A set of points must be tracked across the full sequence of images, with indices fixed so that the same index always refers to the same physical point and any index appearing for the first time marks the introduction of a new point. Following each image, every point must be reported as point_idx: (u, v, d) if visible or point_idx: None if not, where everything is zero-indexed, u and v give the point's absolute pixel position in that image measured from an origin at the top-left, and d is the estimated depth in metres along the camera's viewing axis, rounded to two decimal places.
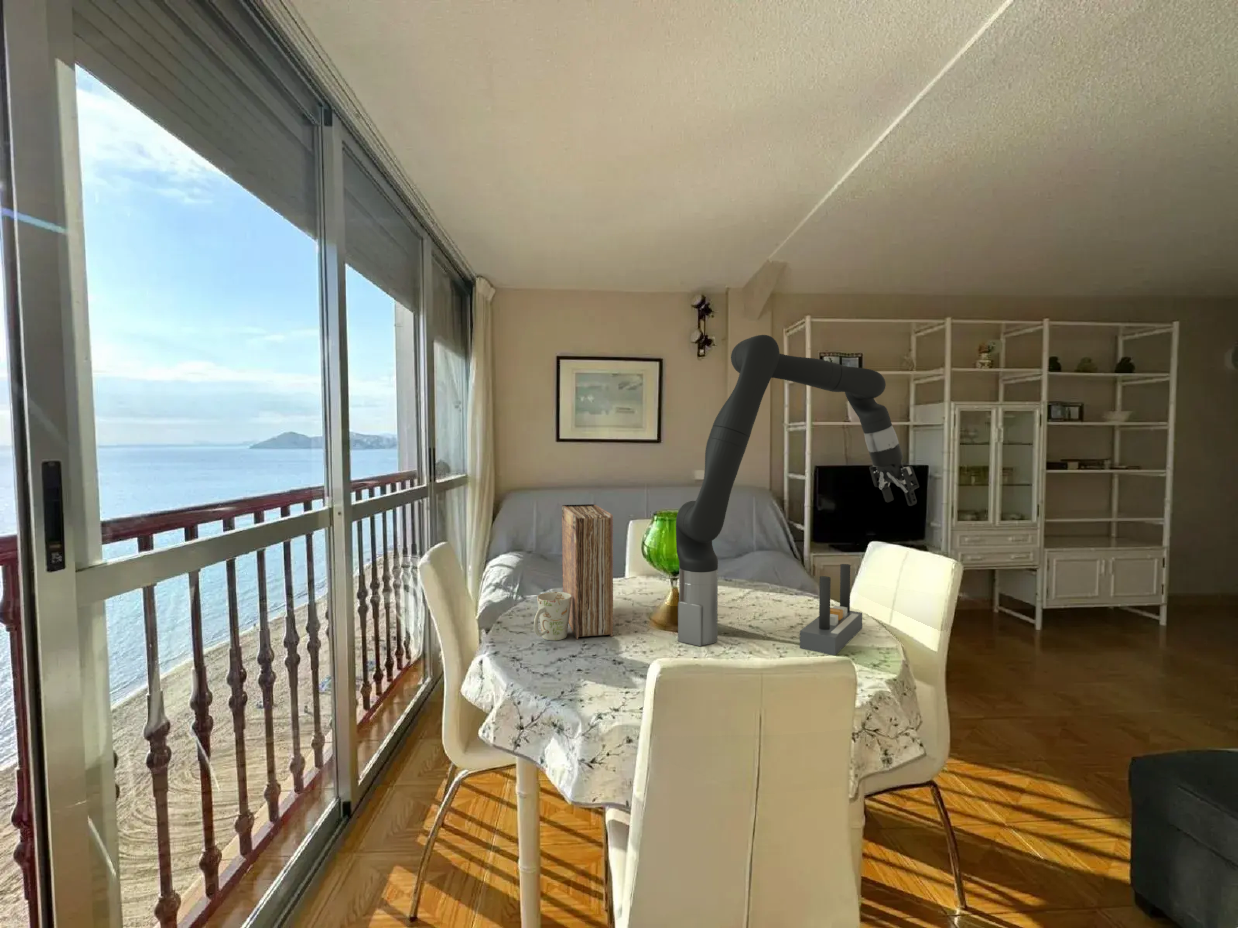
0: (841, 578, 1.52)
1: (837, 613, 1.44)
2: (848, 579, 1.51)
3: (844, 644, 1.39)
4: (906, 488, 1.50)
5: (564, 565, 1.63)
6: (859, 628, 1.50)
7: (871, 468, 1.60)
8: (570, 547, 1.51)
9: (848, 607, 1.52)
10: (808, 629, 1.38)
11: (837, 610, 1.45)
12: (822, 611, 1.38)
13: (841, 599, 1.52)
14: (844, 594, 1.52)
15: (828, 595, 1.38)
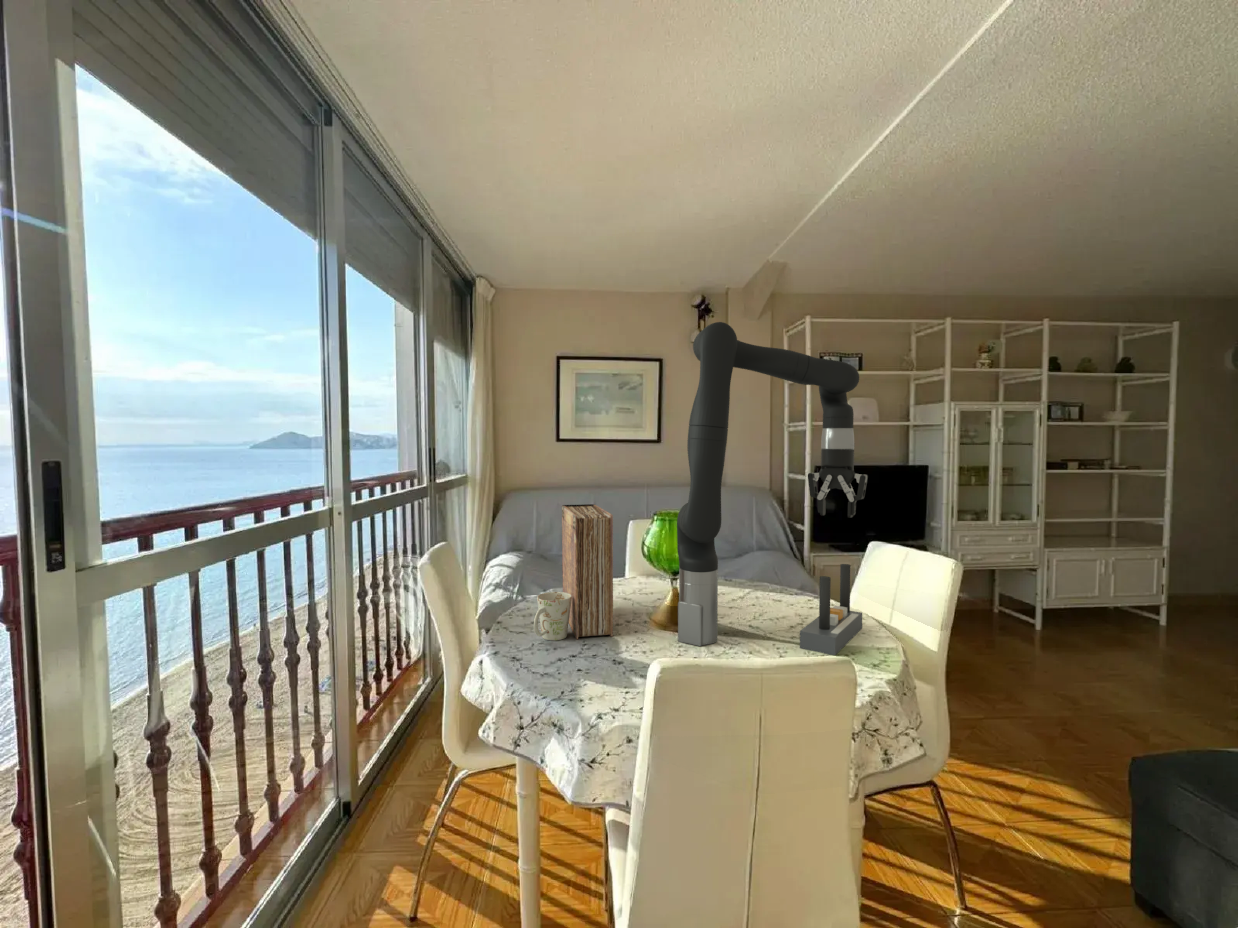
0: (841, 578, 1.52)
1: (837, 613, 1.44)
2: (848, 579, 1.51)
3: (844, 644, 1.39)
4: (853, 497, 1.41)
5: (564, 565, 1.63)
6: (859, 628, 1.50)
7: (811, 474, 1.47)
8: (570, 547, 1.51)
9: (848, 607, 1.52)
10: (808, 629, 1.38)
11: (837, 610, 1.45)
12: (822, 611, 1.38)
13: (841, 599, 1.52)
14: (844, 594, 1.52)
15: (828, 595, 1.38)
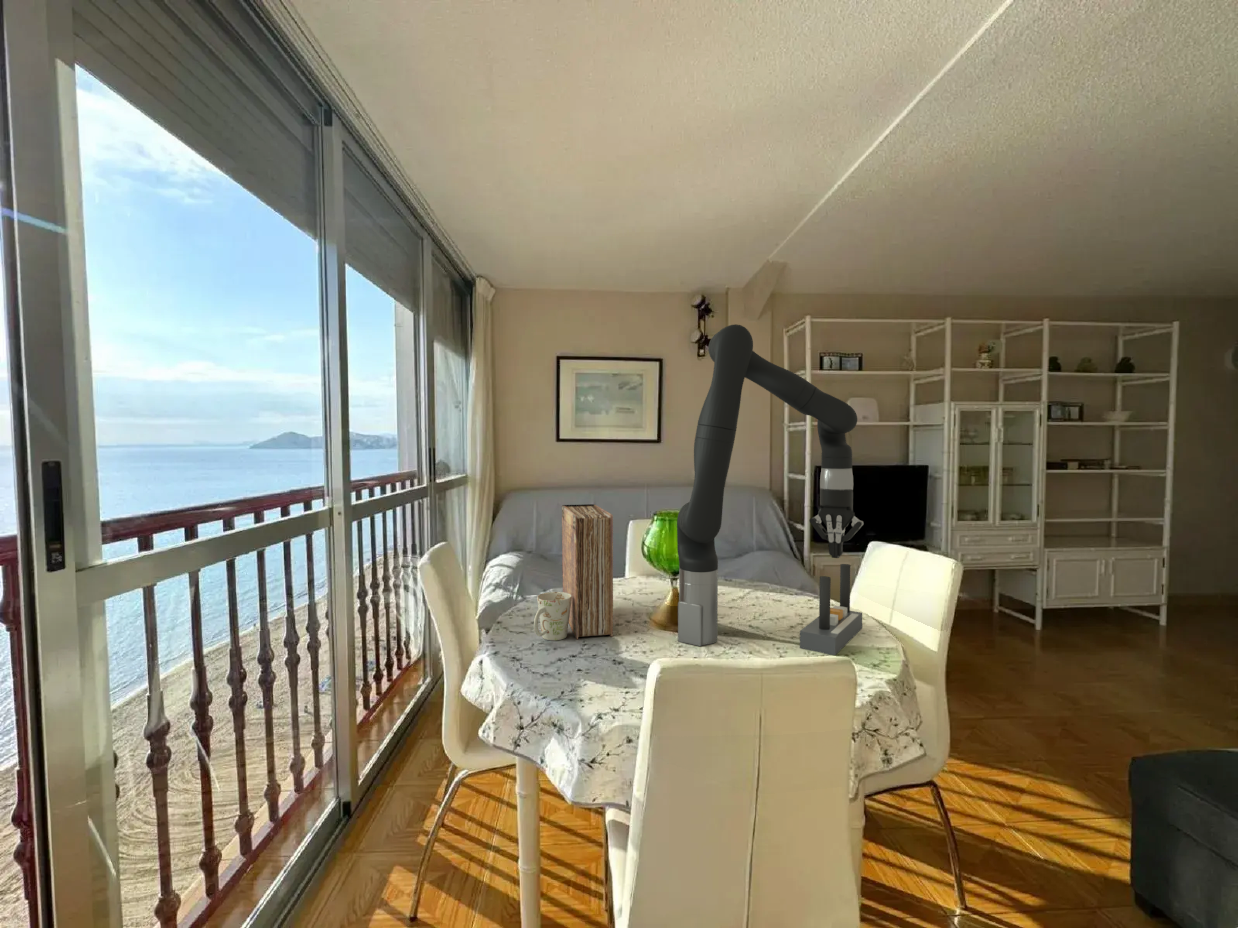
0: (841, 578, 1.52)
1: (837, 613, 1.44)
2: (848, 579, 1.51)
3: (844, 644, 1.39)
4: (841, 540, 1.43)
5: (564, 565, 1.63)
6: (859, 628, 1.50)
7: (812, 519, 1.47)
8: (570, 547, 1.51)
9: (848, 607, 1.52)
10: (808, 629, 1.38)
11: (837, 610, 1.45)
12: (822, 611, 1.38)
13: (841, 599, 1.52)
14: (844, 594, 1.52)
15: (828, 595, 1.38)
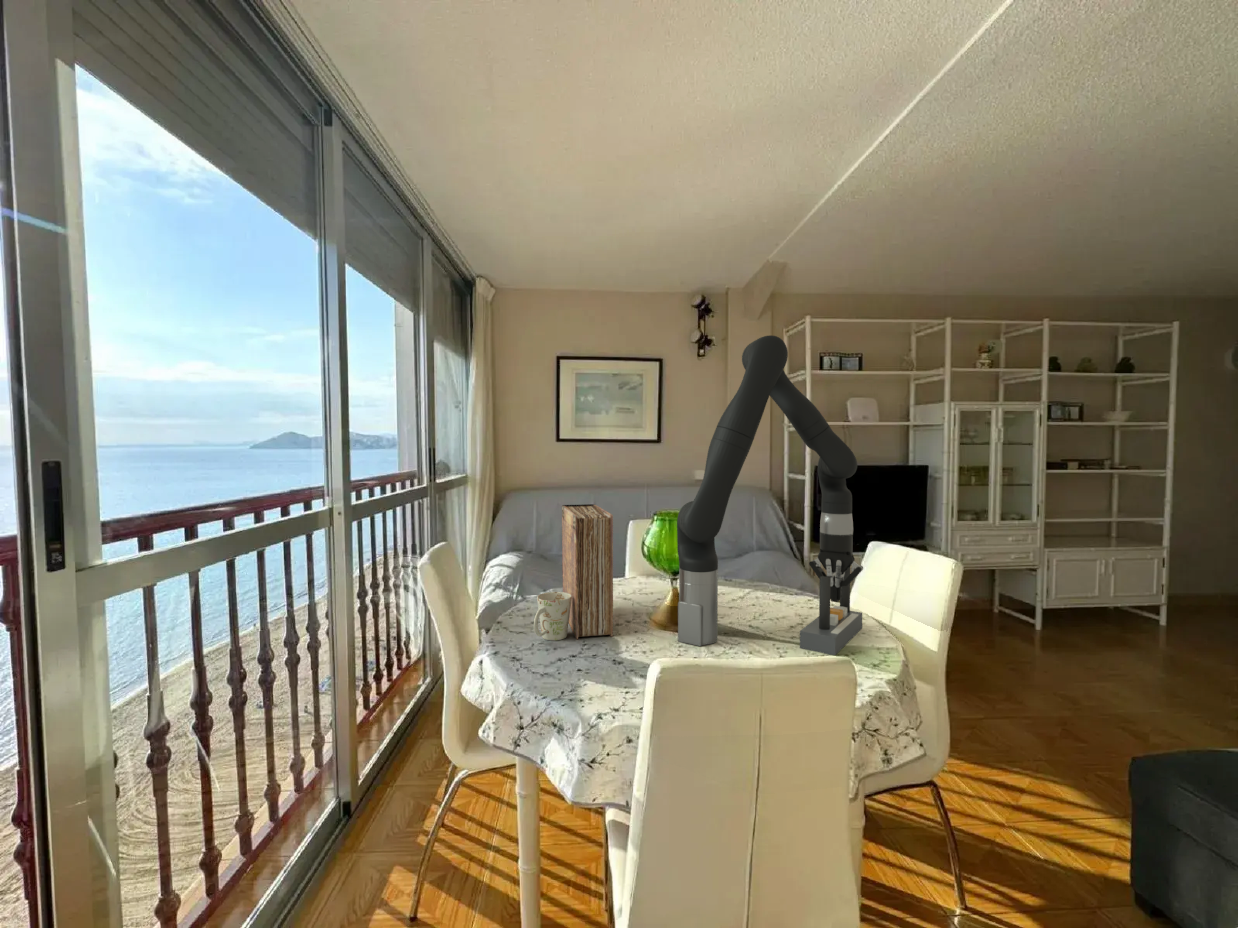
0: None
1: (837, 613, 1.44)
2: None
3: (844, 644, 1.39)
4: (840, 584, 1.44)
5: (564, 565, 1.63)
6: (859, 628, 1.50)
7: (812, 562, 1.48)
8: (570, 547, 1.51)
9: (848, 607, 1.52)
10: (808, 629, 1.38)
11: (837, 610, 1.45)
12: (822, 611, 1.38)
13: (841, 599, 1.52)
14: (844, 594, 1.52)
15: (828, 595, 1.38)
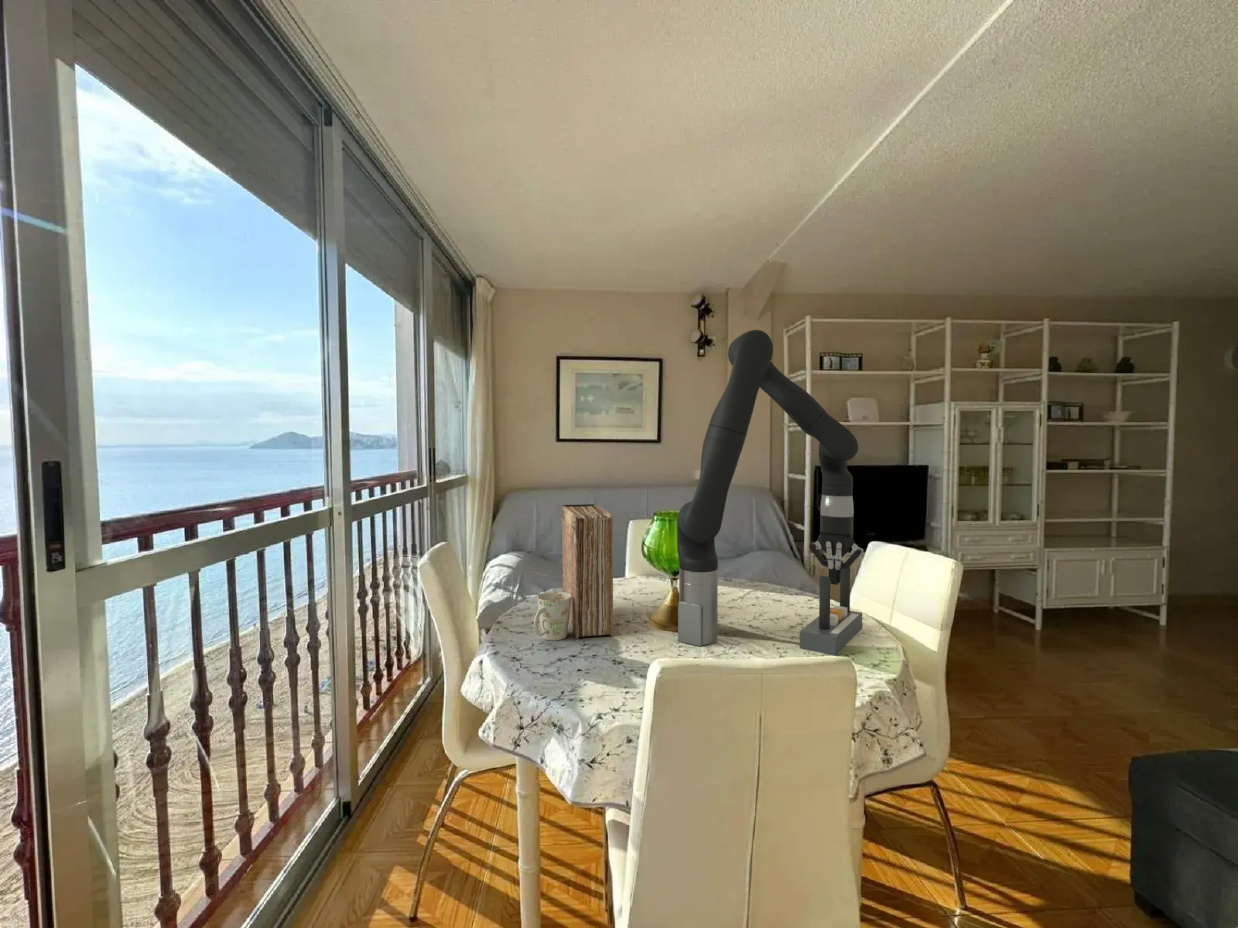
0: None
1: (837, 613, 1.44)
2: (848, 579, 1.51)
3: (844, 644, 1.39)
4: (840, 567, 1.44)
5: (564, 565, 1.63)
6: (859, 628, 1.50)
7: (812, 545, 1.47)
8: (570, 547, 1.51)
9: (848, 607, 1.52)
10: (808, 629, 1.38)
11: (837, 610, 1.45)
12: (822, 611, 1.38)
13: (841, 599, 1.52)
14: (844, 594, 1.52)
15: (828, 595, 1.38)
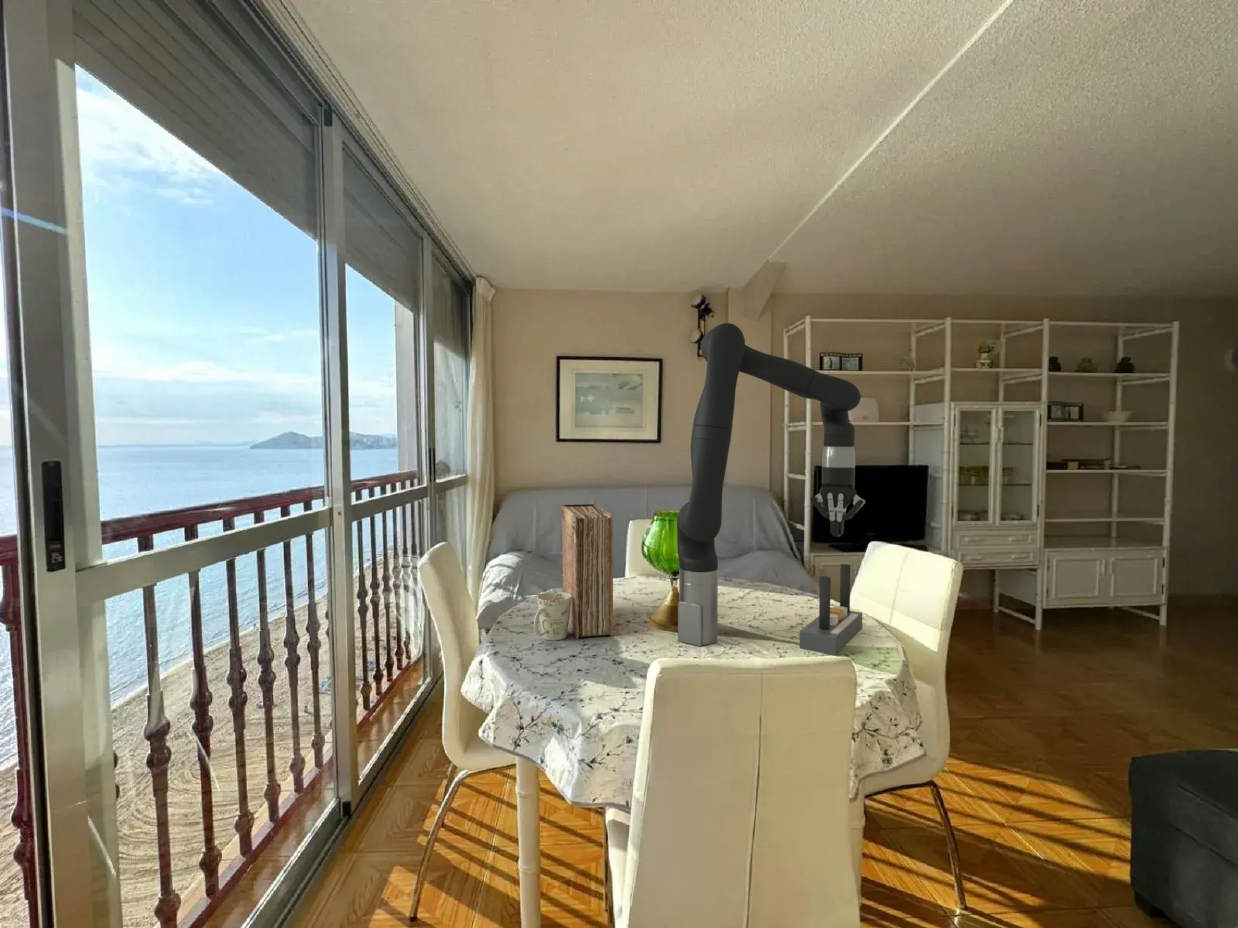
0: (841, 578, 1.52)
1: (837, 613, 1.44)
2: (848, 579, 1.51)
3: (844, 644, 1.39)
4: (842, 518, 1.43)
5: (564, 565, 1.63)
6: (859, 628, 1.50)
7: (813, 498, 1.47)
8: (570, 547, 1.51)
9: (848, 607, 1.52)
10: (808, 629, 1.38)
11: (837, 610, 1.45)
12: (822, 611, 1.38)
13: (841, 599, 1.52)
14: (844, 594, 1.52)
15: (828, 595, 1.38)
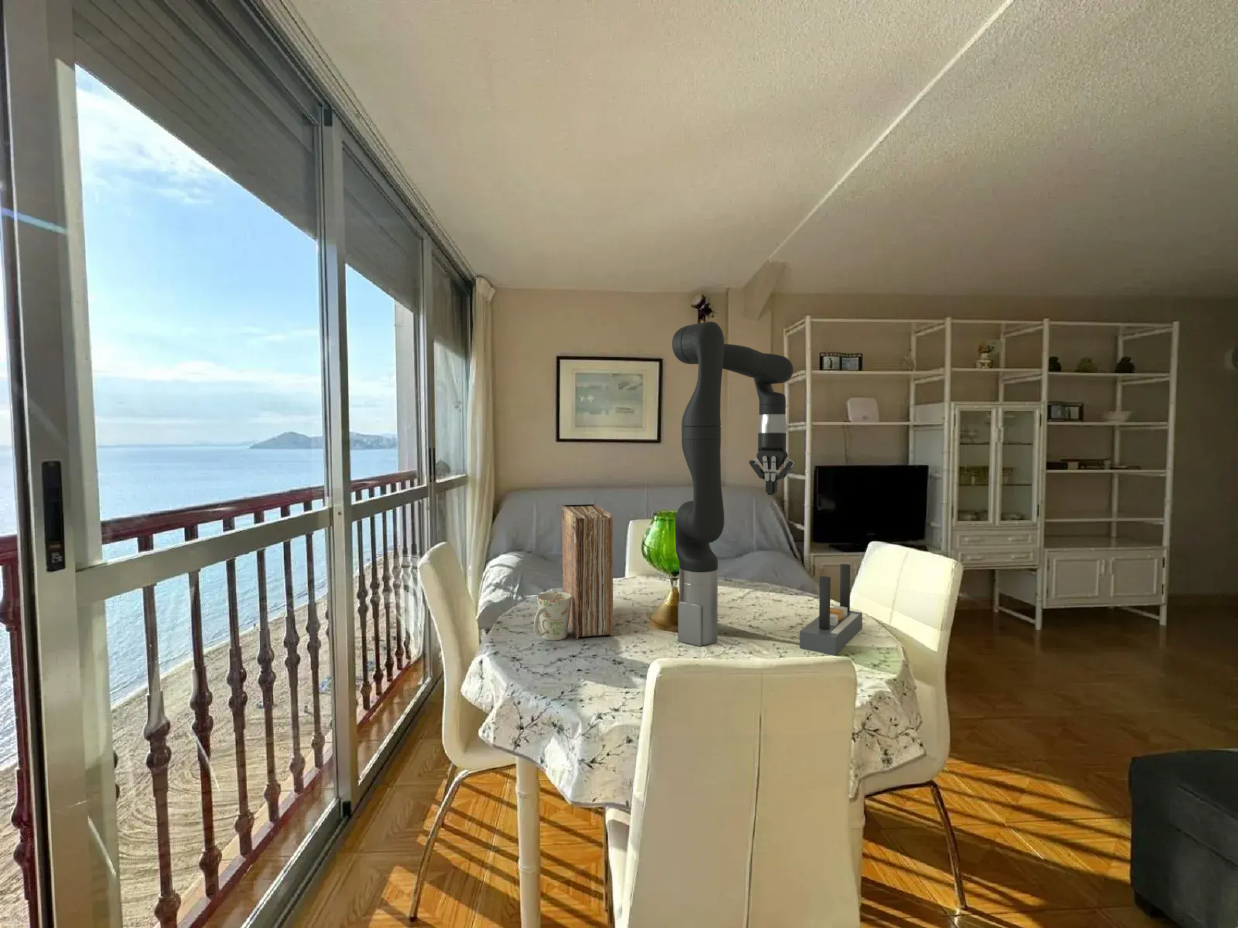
0: (841, 578, 1.52)
1: (837, 613, 1.44)
2: (848, 579, 1.51)
3: (844, 644, 1.39)
4: (775, 478, 1.61)
5: (564, 565, 1.63)
6: (859, 628, 1.50)
7: (751, 461, 1.65)
8: (570, 547, 1.51)
9: (848, 607, 1.52)
10: (808, 629, 1.38)
11: (837, 610, 1.45)
12: (822, 611, 1.38)
13: (841, 599, 1.52)
14: (844, 594, 1.52)
15: (828, 595, 1.38)
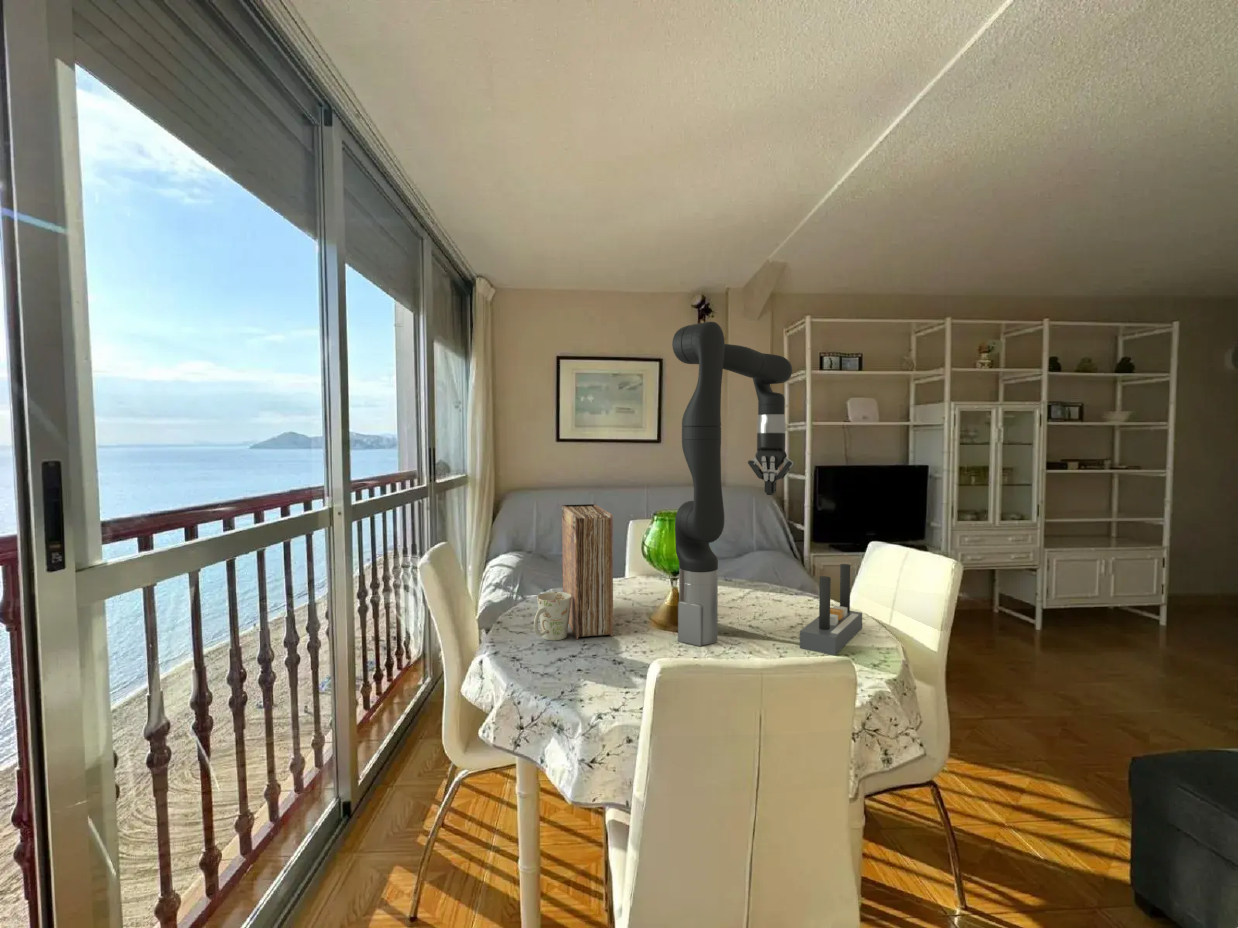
0: (841, 578, 1.52)
1: (837, 613, 1.44)
2: (848, 579, 1.51)
3: (844, 644, 1.39)
4: (774, 478, 1.61)
5: (564, 565, 1.63)
6: (859, 628, 1.50)
7: (750, 461, 1.65)
8: (570, 547, 1.51)
9: (848, 607, 1.52)
10: (808, 629, 1.38)
11: (837, 610, 1.45)
12: (822, 611, 1.38)
13: (841, 599, 1.52)
14: (844, 594, 1.52)
15: (828, 595, 1.38)
